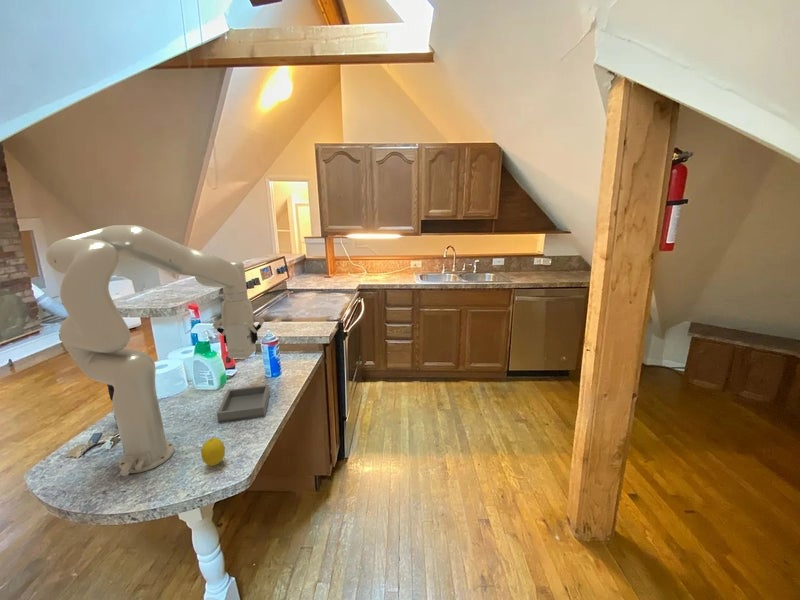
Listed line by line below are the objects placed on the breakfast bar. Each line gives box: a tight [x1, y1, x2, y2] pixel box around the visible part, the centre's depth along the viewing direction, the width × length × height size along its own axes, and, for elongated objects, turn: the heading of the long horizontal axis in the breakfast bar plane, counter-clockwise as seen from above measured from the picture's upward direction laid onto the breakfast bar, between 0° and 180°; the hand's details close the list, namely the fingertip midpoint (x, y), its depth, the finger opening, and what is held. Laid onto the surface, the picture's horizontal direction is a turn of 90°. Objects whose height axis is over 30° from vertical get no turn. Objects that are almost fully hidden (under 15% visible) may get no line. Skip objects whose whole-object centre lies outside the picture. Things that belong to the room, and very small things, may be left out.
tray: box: [216, 384, 271, 424], centre depth 123 cm, size 16×14×4 cm
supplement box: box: [225, 321, 257, 359], centre depth 129 cm, size 7×7×13 cm
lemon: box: [200, 437, 226, 467], centre depth 95 cm, size 6×6×8 cm
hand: (241, 343), depth 129 cm, fingers closed on supplement box, 8 cm apart
